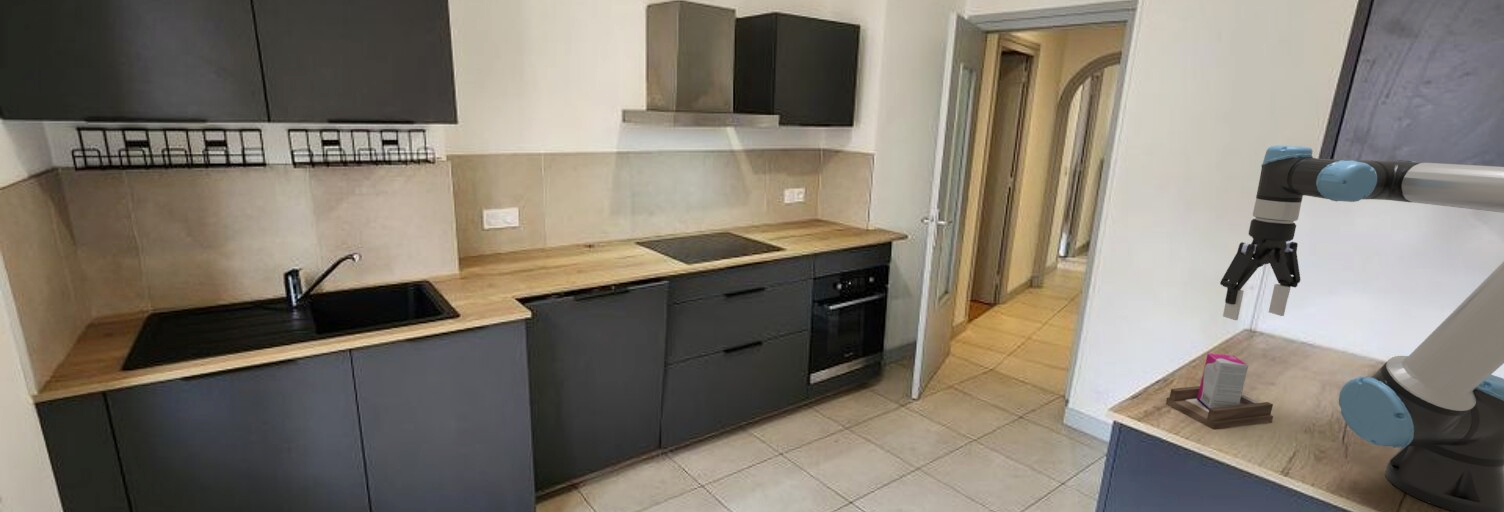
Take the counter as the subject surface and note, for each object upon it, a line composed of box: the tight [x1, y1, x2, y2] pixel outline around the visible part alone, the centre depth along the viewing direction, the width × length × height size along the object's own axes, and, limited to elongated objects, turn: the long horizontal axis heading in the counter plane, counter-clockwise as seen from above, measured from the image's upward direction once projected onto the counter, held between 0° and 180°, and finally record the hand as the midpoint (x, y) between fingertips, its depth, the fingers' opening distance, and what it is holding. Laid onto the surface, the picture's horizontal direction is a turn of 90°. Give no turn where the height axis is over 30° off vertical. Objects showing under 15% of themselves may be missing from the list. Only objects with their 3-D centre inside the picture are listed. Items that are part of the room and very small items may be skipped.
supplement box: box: [1197, 352, 1249, 410], centre depth 142 cm, size 6×6×12 cm
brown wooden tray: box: [1165, 385, 1274, 430], centre depth 144 cm, size 12×16×4 cm
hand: (1253, 316), depth 140 cm, fingers open, 13 cm apart
